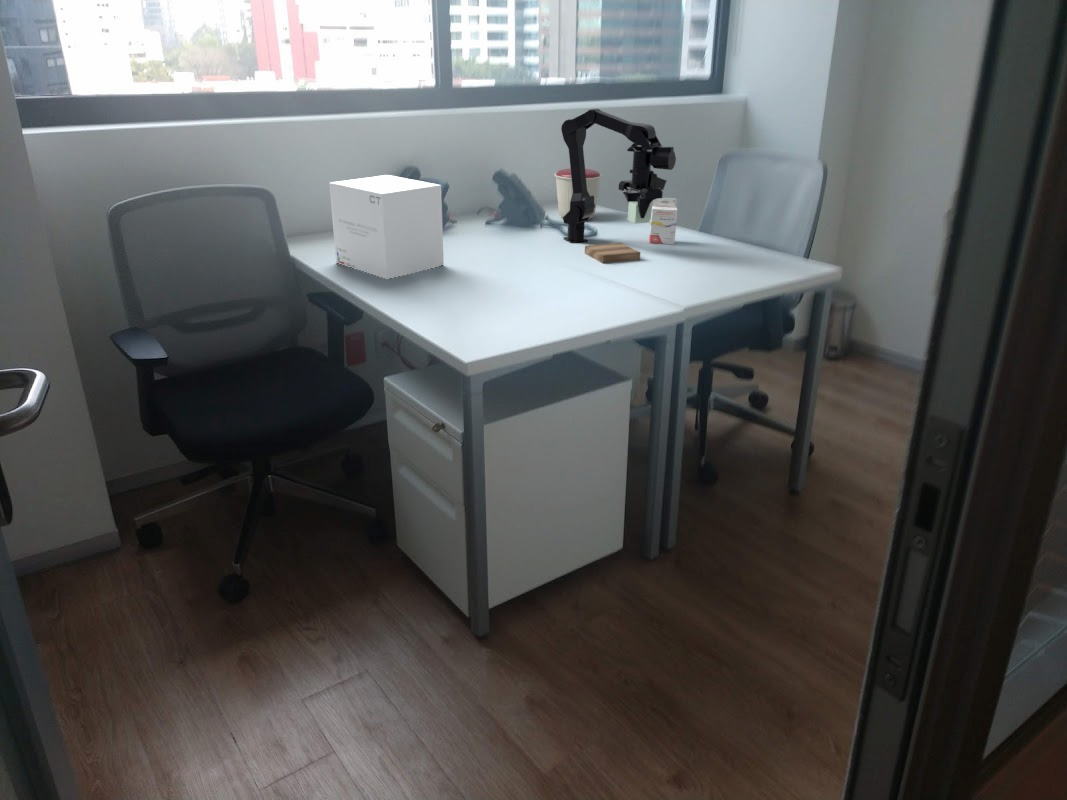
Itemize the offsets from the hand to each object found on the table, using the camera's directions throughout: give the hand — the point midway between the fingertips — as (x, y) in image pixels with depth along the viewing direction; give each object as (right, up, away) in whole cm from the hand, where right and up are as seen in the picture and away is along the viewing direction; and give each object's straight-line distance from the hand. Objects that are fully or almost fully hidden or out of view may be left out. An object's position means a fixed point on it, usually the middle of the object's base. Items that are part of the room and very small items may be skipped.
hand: (638, 216), depth 262 cm
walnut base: (-9, -14, -3) cm, 17 cm away
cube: (-78, -19, -16) cm, 81 cm away
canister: (-17, +10, +49) cm, 53 cm away
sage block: (0, -1, +1) cm, 2 cm away
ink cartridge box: (+10, -5, +16) cm, 19 cm away
